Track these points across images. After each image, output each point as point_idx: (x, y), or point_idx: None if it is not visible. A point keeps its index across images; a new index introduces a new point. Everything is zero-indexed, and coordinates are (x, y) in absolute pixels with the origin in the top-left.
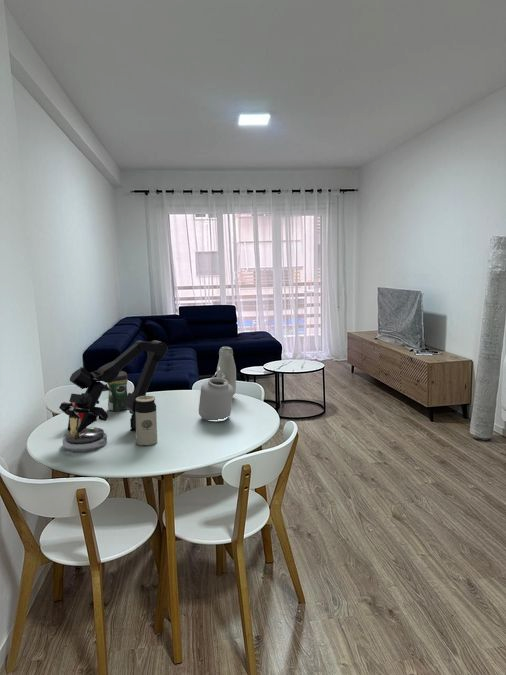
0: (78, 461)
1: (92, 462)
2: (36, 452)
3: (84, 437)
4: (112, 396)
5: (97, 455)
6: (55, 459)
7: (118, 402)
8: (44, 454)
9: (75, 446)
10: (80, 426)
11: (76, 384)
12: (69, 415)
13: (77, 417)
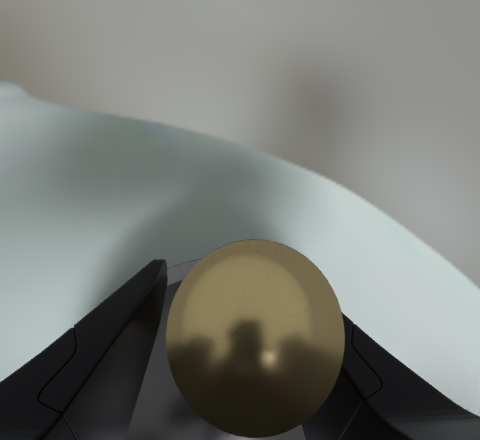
0: (111, 180)
1: (29, 188)
2: (372, 210)
3: (164, 346)
4: None
5: (46, 273)
6: (233, 172)
7: None
8: (322, 202)
9: (192, 262)
10: (120, 291)
11: None
12: (458, 415)
13: (197, 378)
